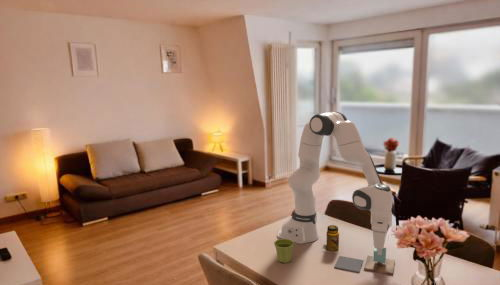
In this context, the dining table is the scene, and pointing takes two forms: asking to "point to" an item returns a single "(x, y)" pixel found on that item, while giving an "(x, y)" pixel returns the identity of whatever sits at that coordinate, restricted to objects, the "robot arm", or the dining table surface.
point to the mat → (348, 264)
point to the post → (379, 265)
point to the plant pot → (284, 249)
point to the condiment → (332, 240)
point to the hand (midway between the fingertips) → (380, 249)
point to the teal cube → (380, 256)
